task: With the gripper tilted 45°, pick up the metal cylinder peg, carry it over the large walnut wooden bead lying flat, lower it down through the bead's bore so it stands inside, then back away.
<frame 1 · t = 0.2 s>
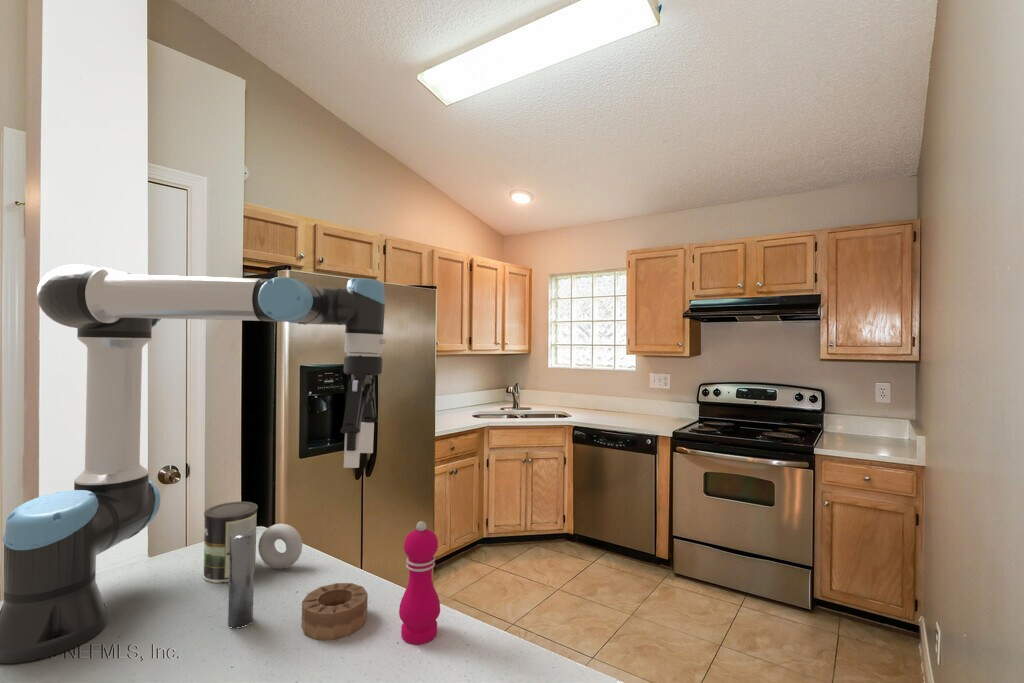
hand: (359, 459, 101), 28 cm above the counter, tool pointing down, fingers open, 13 cm apart
bead: (334, 621, 92), on the counter
donut: (279, 569, 113), on the counter
metal cylinder peg: (240, 622, 91), on the counter
pepper mill: (419, 635, 89), on the counter
coffee can: (230, 573, 111), on the counter
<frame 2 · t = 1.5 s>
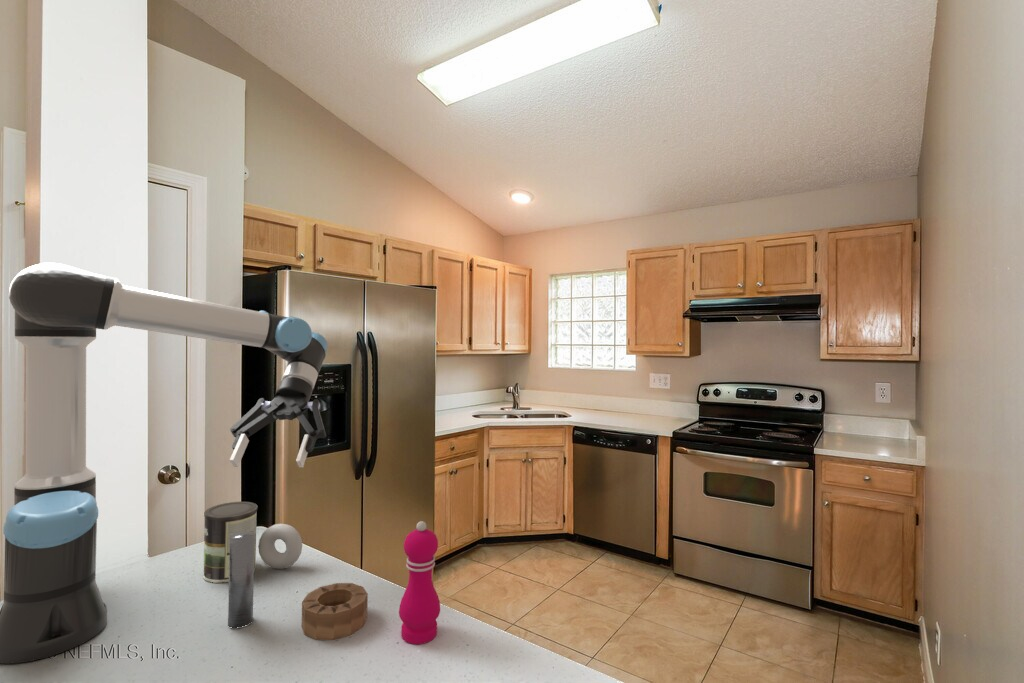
hand: (266, 464, 104), 26 cm above the counter, tool tilted 45°, fingers open, 13 cm apart
nothing on the counter moved.
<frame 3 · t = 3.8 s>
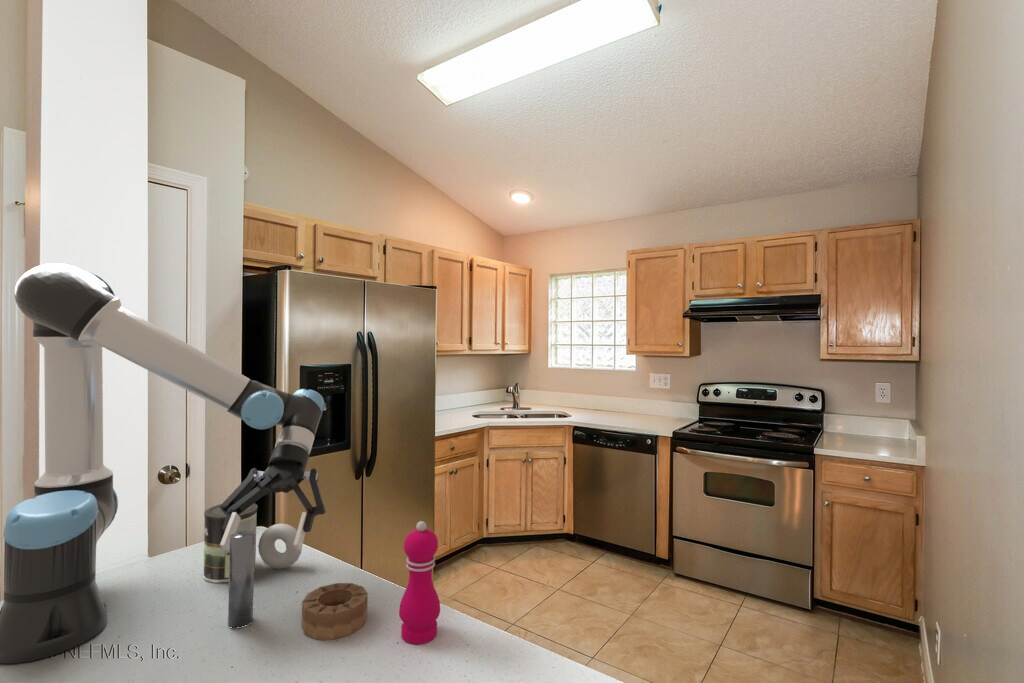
hand: (260, 547, 96), 12 cm above the counter, tool tilted 45°, fingers open, 13 cm apart
nothing on the counter moved.
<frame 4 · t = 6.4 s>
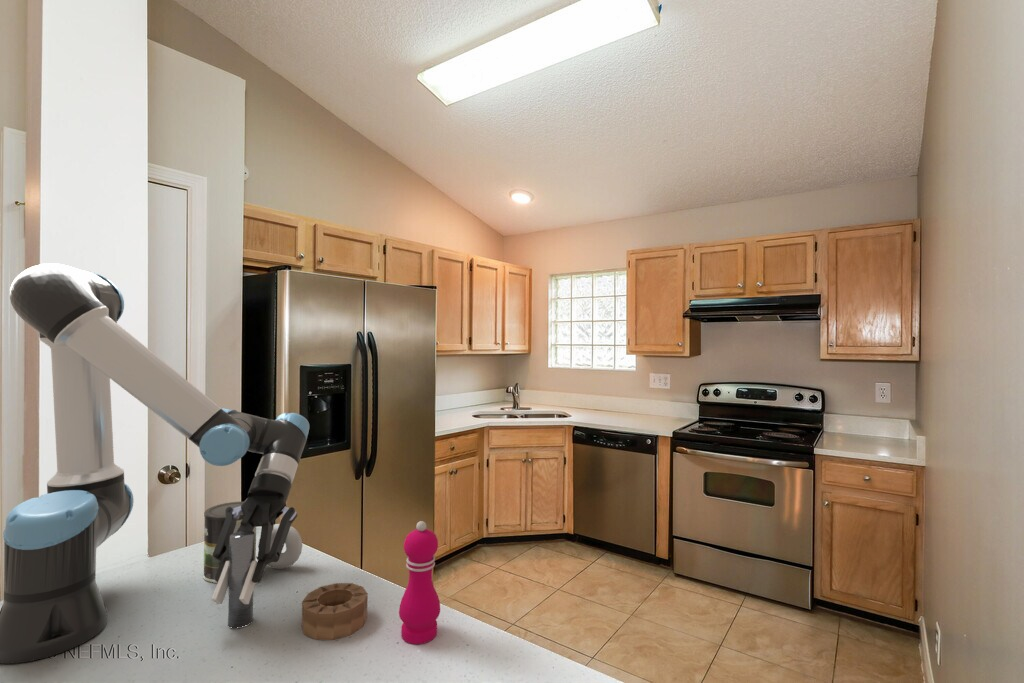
hand: (230, 601, 87), 6 cm above the counter, tool tilted 45°, fingers closed on metal cylinder peg, 4 cm apart
metal cylinder peg: (240, 622, 91), on the counter, touching gripper
everything else where it was.
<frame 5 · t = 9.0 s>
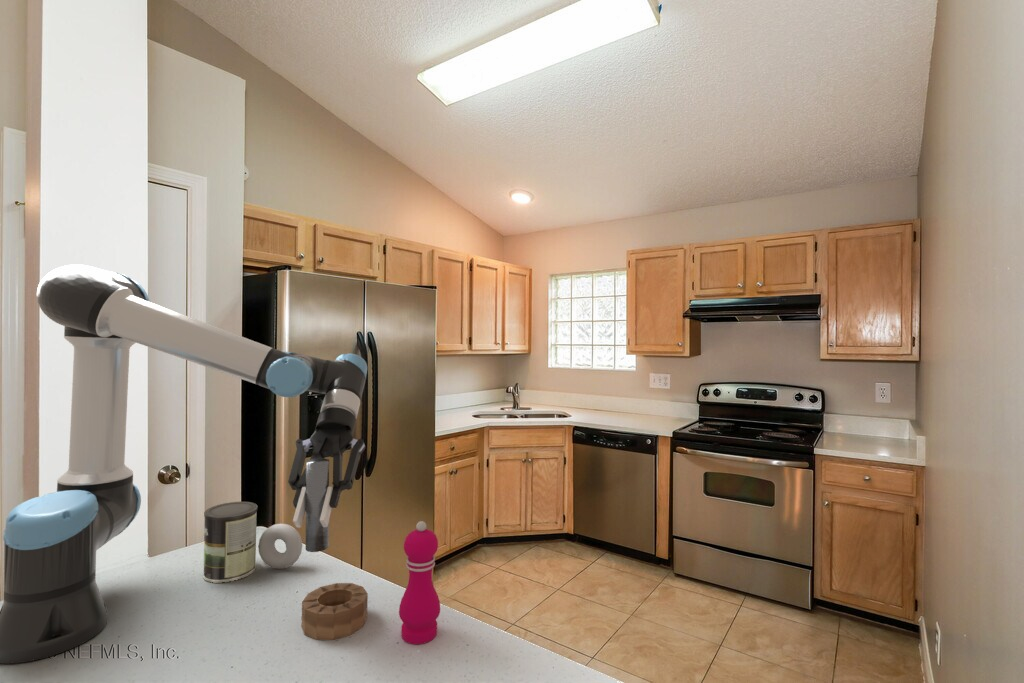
hand: (310, 523, 89), 19 cm above the counter, tool tilted 45°, fingers closed on metal cylinder peg, 4 cm apart
metal cylinder peg: (317, 547, 92), point 13 cm above the counter, touching gripper
everything else where it was.
when the fingers open (8 cm above the counter, at t = 12.1 s): metal cylinder peg drops 2 cm, resting in bead.
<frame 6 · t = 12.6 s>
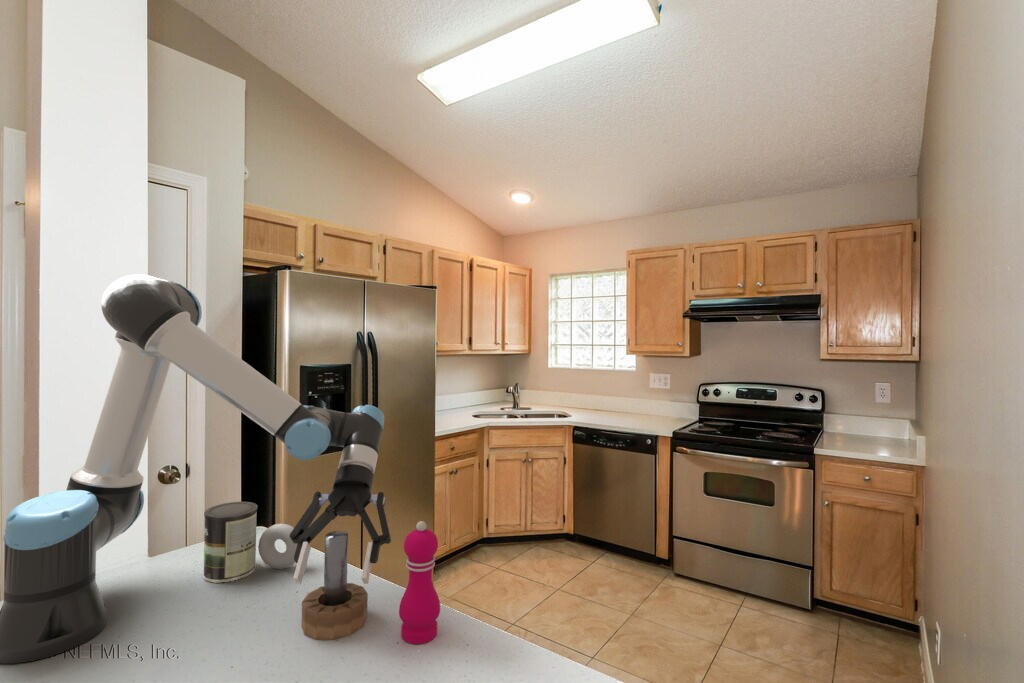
hand: (331, 581, 89), 9 cm above the counter, tool tilted 45°, fingers open, 11 cm apart
metal cylinder peg: (334, 621, 92), resting in bead
everything else where it was.
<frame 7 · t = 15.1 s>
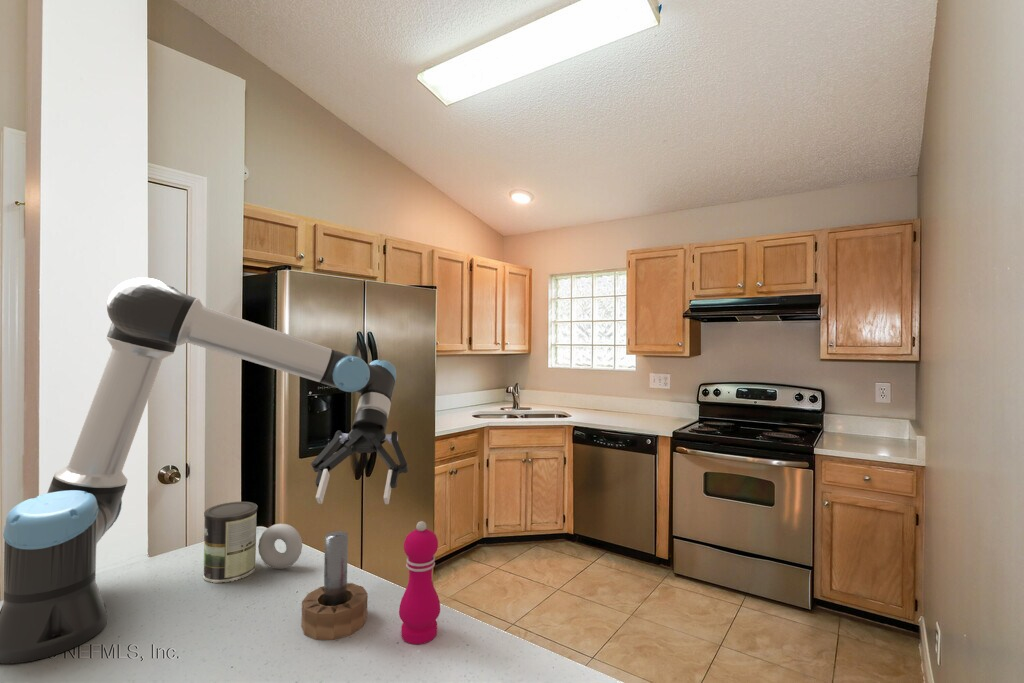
hand: (352, 501, 102), 19 cm above the counter, tool tilted 45°, fingers open, 13 cm apart
nothing on the counter moved.
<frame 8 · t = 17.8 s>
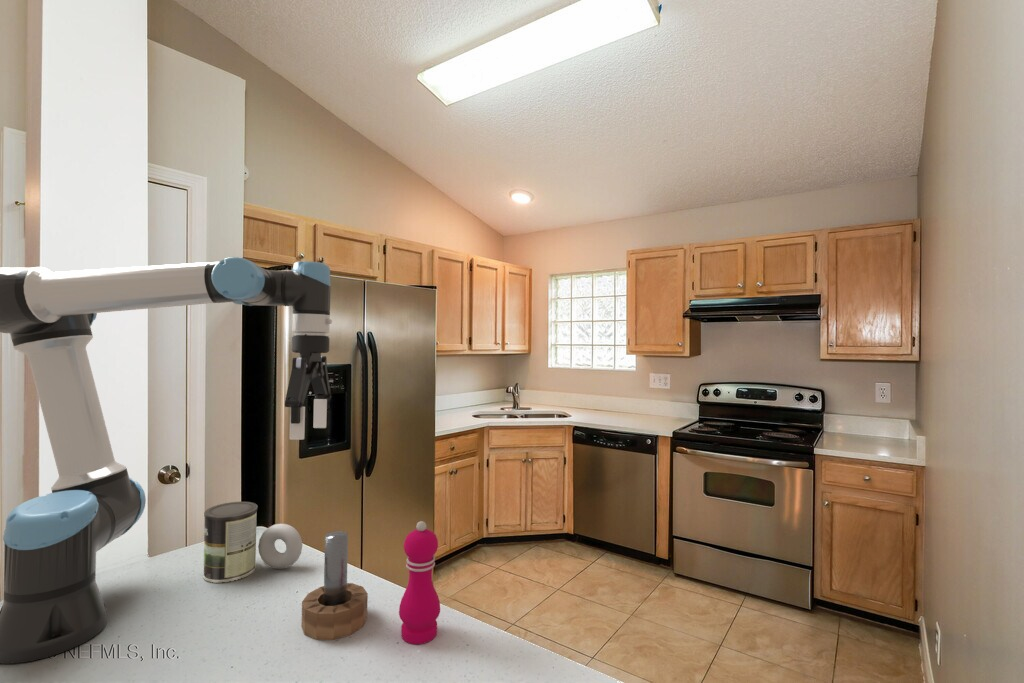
hand: (309, 433, 108), 32 cm above the counter, tool pointing down, fingers open, 13 cm apart
nothing on the counter moved.
at the end: metal cylinder peg 0.0 cm off-centre on the bead, point 0.0 cm above the bead's base; metal cylinder peg tilted 0°; the gripper is holding nothing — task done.
